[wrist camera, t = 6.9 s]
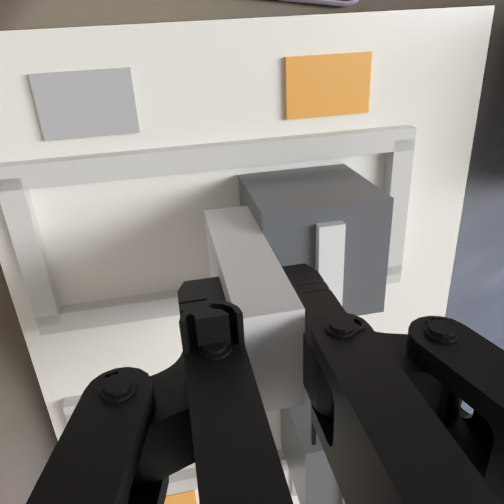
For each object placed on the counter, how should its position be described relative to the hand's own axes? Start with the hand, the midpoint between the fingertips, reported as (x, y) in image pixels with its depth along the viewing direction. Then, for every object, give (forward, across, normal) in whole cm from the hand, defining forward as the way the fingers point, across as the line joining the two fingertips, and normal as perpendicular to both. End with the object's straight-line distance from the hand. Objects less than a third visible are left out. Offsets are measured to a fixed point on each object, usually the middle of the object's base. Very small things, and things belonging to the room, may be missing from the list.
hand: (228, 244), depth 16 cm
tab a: (+2, +3, 0) cm, 3 cm away
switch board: (+3, +1, -5) cm, 6 cm away
